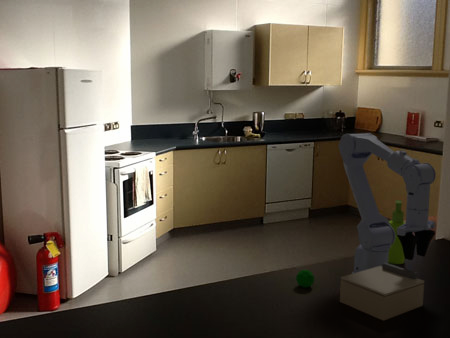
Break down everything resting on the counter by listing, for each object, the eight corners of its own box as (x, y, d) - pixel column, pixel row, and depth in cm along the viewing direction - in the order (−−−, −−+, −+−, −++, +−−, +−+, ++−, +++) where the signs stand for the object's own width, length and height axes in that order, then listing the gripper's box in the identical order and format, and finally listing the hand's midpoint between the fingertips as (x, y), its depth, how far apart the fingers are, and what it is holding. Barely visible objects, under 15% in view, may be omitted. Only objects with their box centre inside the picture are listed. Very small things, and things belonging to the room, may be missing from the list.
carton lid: (340, 278, 140) (341, 271, 140) (379, 267, 149) (380, 260, 149) (385, 296, 129) (385, 287, 128) (424, 282, 138) (424, 274, 138)
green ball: (316, 289, 149) (316, 273, 148) (299, 290, 148) (299, 273, 148) (310, 283, 154) (311, 267, 153) (294, 283, 153) (294, 268, 153)
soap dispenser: (404, 258, 177) (408, 199, 174) (404, 265, 171) (408, 204, 168) (386, 256, 179) (389, 198, 176) (385, 262, 173) (388, 202, 170)
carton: (339, 301, 141) (340, 279, 140) (378, 289, 150) (379, 268, 149) (383, 320, 130) (384, 297, 129) (422, 305, 139) (424, 283, 138)
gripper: (414, 214, 136) (411, 265, 138) (446, 207, 145) (443, 256, 146) (391, 209, 142) (388, 259, 144) (423, 203, 150) (420, 250, 152)
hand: (414, 257), depth 145 cm, fingers open, 5 cm apart
